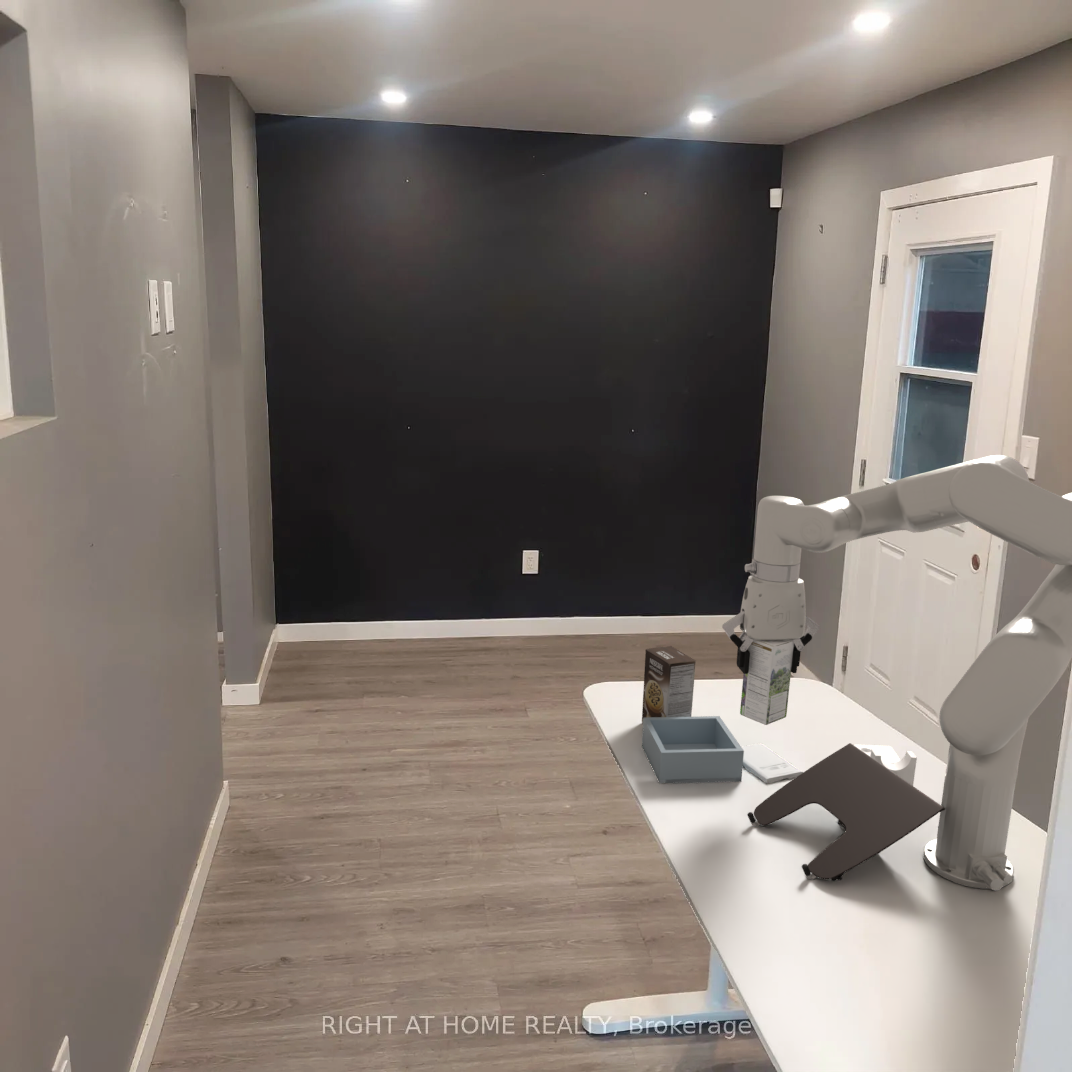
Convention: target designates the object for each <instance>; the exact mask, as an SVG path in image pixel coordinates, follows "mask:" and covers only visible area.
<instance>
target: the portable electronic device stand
mask: <svg viewBox="0 0 1072 1072" xmlns="http://www.w3.org/2000/svg"><path fill="white" fill-rule="evenodd" d="M853 744H854V743H847V744H846V745H844V746H843V747H841V748H839V749H838V750H835V752H833V753H831V754H830V755H828V756H826V757H825V758H823V759H822V760H820V761H819V762H817V763H815V764H813V766H811V767H810V768H808V769H807V770H805V771H802V772H803V773H802V774H800V775H799V776H797V777H795V778H792V780H790V781H789V782H787V783H786V784H785V785H782V786H781V787H780V788H779V789H778V790H776V791H775V792H774V793H772V794H771V795H769V796H768V797H767V798H765V799H764V800H763V801H761V802H760V803H759V804H758V805H756V807H755V808H754V811H753V812H752V811H751V812H747V817H748V820H749V822H750V823H751V824H750V825H752V827H755V828H756V827H761V826H763V827H766V826H770V825H771V824H773V823H775V822H777V821H779V820H781V819H783V818H785V817H787V816H788V817H789V816H790V815H791V814H793V813H795V812H797V811H799V810H800V809H802V808H804V807H806V806H809V805H811V804H816V805H819V806H821V807H823V808H824V809H825V810H826V811H827V812H828V813H830V814H831V815H832V816H833V817H834V818H836V819H837V822H838V824H839V825H841V826H842V827H844V828H845V831H844V833H842V835H841V836H839V837H838V838H837V839H835V840H834V841H833V842H831V843H830V844H829V845H828V846H827V847H825V848H824V849H823V850H822V851H821V852H820V853H819V854H817V855H816V856H815V857H814V858H813V859H812V860H811V861H810V862H808V864H807V863H804V864H801V868H802V870H803V873H804V876H805V877H806V879H808V880H810V881H811V880H815V879H817V878H819V879H821V880H827V881H828V880H831V881H832V882H834V881H842V880H843V876H844V874H845V873H846V872H849V871H851V870H853V869H854V868H856V867H859V866H860V865H861V864H864V862H867V861H868V860H869V859H872V858H873V857H875V856H876V855H879V854H881V852H883V851H884V850H886V849H888V848H889V847H891V846H892V845H894V844H895V843H897V842H899V841H900V840H901V839H903V838H905V837H906V836H908V835H909V834H910V833H912V832H914V831H916V829H918V828H919V827H921V826H922V825H924V824H925V823H926V822H928V821H929V820H931V819H932V818H934V817H935V816H936V815H938V814H940V811H944V810H945V808H944V807H943V806H941V804H940V803H938V802H937V801H935V800H934V799H933V798H931V797H930V796H928V795H926V794H925V793H924V792H923V791H921V790H919V789H918V788H916V787H915V786H914V785H913V786H912V785H911V784H909V783H908V782H906V781H905V780H903V779H902V778H901V777H899V776H898V775H896V774H895V773H893V772H892V771H890V770H889V769H887V768H886V767H885V766H883V765H882V764H880V763H879V762H877V761H876V760H874V759H873V758H871V757H870V756H869V755H867V754H866V753H864V752H863V751H861V750H860V749H858V748H857V747H855V746H854V745H853Z"/></svg>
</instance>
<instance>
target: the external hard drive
mask: <svg viewBox="0 0 1072 1072" xmlns="http://www.w3.org/2000/svg"><path fill="white" fill-rule="evenodd" d="M740 746H741V745H740ZM741 747H742V749H743V750H744V756H743V768H745V769H746V770H747V771H749V773H751V774H753V775H754V776H755V777H757V778H759V779H760V780H761V781H762V782H764V783H765V784H770V783H775V782H780V781H782V780H785V779H786V780H787V779H788V780H789V779H794V778H796V777H797V776H799V775H800V774H802V773H803V772H804V771H802V770H801V769H800V768H798V767H796V766H795V765H793V764H792V763H791V762H789V761H788V760H787V759H785V758H784V757H782V756H780V755H779V754H778V753H776V752H775V751H774V750H772V749H771V748H770V747H768V746H767V745H766V744H763V743H761V742H758V743H752V744H747V745H742V746H741Z"/></svg>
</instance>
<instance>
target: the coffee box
mask: <svg viewBox="0 0 1072 1072" xmlns="http://www.w3.org/2000/svg"><path fill="white" fill-rule="evenodd" d="M696 662H697V660H696V659H694V658H693V657H690V656H689V655H687V654H685V653H684V652H682V651H680V650H679V649H677V648H675V647H674V646H672V645H669V646H657V647H649V648H646V649H645V657H644V676H643V692H642V693H643V695H642V710H641V711H642V713H641V723H642V724H643V718H648V717H692V714H693V713H692V712H693V701H694V700H693V699H694V686H695V678H696V677H695V676H696V674H695V673H696Z"/></svg>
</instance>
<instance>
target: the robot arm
mask: <svg viewBox="0 0 1072 1072" xmlns="http://www.w3.org/2000/svg"><path fill="white" fill-rule="evenodd" d="M1029 478H1030V477H1029V475H1028V472H1027V470H1026V469H1025V467H1024V466H1023V465H1022V464H1021V462H1019V461H1018V460H1016V459H1015V458H1013V457H1010V456H1009V455H1008V456H1007V455H1005V454H1004V455H1002V454H995V455H988V456H983V457H979V458H975V459H972V460H968V461H967V460H966V461H964V462H960V463H956V464H952V465H949V466H945V467H941V468H937V469H933V470H930V471H929V470H928V471H926V472H922V473H918V474H917V473H916V474H914V475H911V476H905V477H904V478H899V479H897V480H896V481H894V482H891V483H888V484H884V485H880V486H877V487H872V488H869V489H865V490H861V491H857V492H854V493H850V494H845V495H842V496H838V497H835V498H830V499H826V500H824V501H821V502H819V503H815V504H809V505H805V504H804V502H803V501H802V500H801V499H799V498H796V497H793V496H787V495H767V496H765V497H763V498H761V499H760V500H759V503H758V505H757V513H756V526H755V527H756V528H755V537H754V538H755V539H754V550H753V558H752V559H751V560H752V561H751V563H746V564H745V565H744V571H745V573H750V574H751V575H749V576H748V579H747V582H746V584H745V588H744V591H743V596H742V601H741V606H740V612H739V613H738V614H736V615H734V616H733V617H732V618H730V619H729V620H727V621H725V622H724V623H723V624H722V625H721V627H722V629H723V631H724V633H726V635H727V637H728V638H729V640H730V641H731V642H732V643H733V644H734V645H735V646H736V647H737V654H736V655H737V656H736V666H737V668H738V669H739V670H740V672H742V673H743V674H747V673H748V672H749V659H750V652H749V651H748V647H749V646H750V645H751V643H752V642H753V640H792V641H793V643H794V647H793V657H792V667H791V674H796V673H797V671H798V667H799V666H800V661H801V652H802V651H803V650H804V649H805V646H807V644H808V643H810V642H811V641H812V640H813V637H814V636H815V635H816V634H817V632H818V631H819V630H820V629H821V628H820V627H821V626H820V624H818V623H817V622H815V621H814V620H813V619H811V618H810V617H809V616H807V614H806V613H807V610H806V609H807V605H806V603H807V601H806V591H805V590H806V587H805V583H804V582H805V581H804V580H803V579H802V578H800V571H801V570H800V569H801V556H802V550H805V551H809V552H811V553H820V554H821V553H827V552H829V551H832V550H834V549H836V548H839V547H840V546H842V545H845V544H846V543H847V544H848V543H850V542H852V541H856V540H859V539H863V538H868V537H872V536H876V535H880V534H881V535H882V534H886V533H891V532H897V531H898V532H899V531H906V532H907V531H908V532H910V533H924V532H929V531H932V530H933V531H934V530H938V529H942V528H947V527H951V526H954V525H960V524H963V523H968V522H969V523H971V524H973V525H975V526H976V527H978V528H980V530H983V531H985V532H988V533H989V534H991V535H992V536H995V537H997V538H998V539H1000V540H1002V541H1004V542H1006V543H1008V544H1010V545H1012V546H1014V547H1016V548H1018V549H1020V550H1022V551H1024V552H1026V553H1028V554H1030V555H1032V556H1034V557H1036V558H1039V559H1040V560H1043V561H1045V562H1048V563H1050V564H1053V565H1054V566H1053V568H1052V570H1051V571H1050V572H1049V573H1048V575H1047V577H1045V579H1044V580H1043V582H1042V583H1041V584H1040V585H1039V587H1038V589H1037V590H1036V592H1035V593H1034V594H1033V595H1032V596H1031V598H1030V599H1029V601H1028V602H1026V605H1025V606H1024V607H1023V608H1022V609H1021V611H1020V612H1018V614H1017V615H1016V616H1015V617H1014V618H1013V619H1012V620H1010V621H1009V622H1008V623H1007V624H1006V625H1004V626H1003V628H1001V629H1000V630H999V631H998V632H997V633H996V634H995V635H994V636H993V637H992V638H991V639H990V640H989V642H988V643H987V644H986V645H985V647H984V648H983V650H982V651H981V652H980V653H979V655H978V656H977V657H976V658H975V660H974V661H973V663H972V664H971V665H970V666H969V668H968V669H967V670H966V672H965V673H964V674H963V676H962V677H961V679H959V681H958V682H957V683H956V684H955V686H954V688H952V690H951V691H950V692H949V694H948V695H947V697H946V698H945V699H944V701H943V703H942V704H941V708H940V711H939V725H940V729H941V732H942V734H943V736H944V738H945V739H946V741H948V743H949V748H948V754H947V761H946V767H945V774H944V782H943V787H942V788H943V790H942V795H941V796H942V797H941V804H940V805H941V806H943V807H944V808H945V810H944V811H940V812H939V818H938V819H939V820H938V825H937V827H938V828H937V834H936V839H933V840H930V841H928V843H926V845H925V846H924V849H923V859H924V862H925V863H926V865H927V866H928V867H929V868H930V869H931V870H932V871H933V872H935V873H936V874H938V875H939V876H940V877H943V878H944V879H946V880H949V881H951V882H953V883H956V884H959V885H961V886H965V887H969V888H974V889H975V888H976V889H980V890H981V889H983V890H989V889H990V890H992V891H999V890H1001V889H1002V888H1003V887H1006V886H1007V885H1009V884H1010V883H1012V882H1013V879H1014V873H1015V869H1014V866H1013V864H1012V862H1011V861H1010V860H1009V859H1008V856H1007V854H1006V848H1007V841H1008V835H1009V829H1010V821H1011V816H1012V809H1013V803H1014V798H1015V797H1014V796H1015V789H1016V782H1017V778H1018V771H1019V764H1020V759H1021V753H1022V749H1023V743H1024V739H1025V737H1026V731H1027V728H1028V727H1027V726H1028V722H1029V718H1030V716H1032V715H1033V713H1034V712H1035V711H1036V709H1038V707H1039V706H1040V704H1041V703H1042V702H1043V701H1044V700H1045V699H1046V697H1047V696H1048V695H1049V694H1050V692H1051V691H1052V690H1053V688H1054V687H1055V686H1056V685H1057V683H1058V682H1059V680H1060V679H1061V677H1062V676H1063V675H1064V673H1065V672H1066V670H1067V668H1068V667H1069V664H1070V662H1071V660H1072V492H1069V493H1066V494H1064V495H1059V494H1057V493H1055V492H1052V491H1050V490H1048V489H1046V488H1043V487H1041V486H1040V485H1037V484H1035V483H1033V482H1031V481H1030V480H1029ZM806 626H807V627H806ZM737 627H739V629H740V631H742V632H741V633H740V635H739V636H738V635H737V634H736V632H735V629H736V628H737Z"/></svg>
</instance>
